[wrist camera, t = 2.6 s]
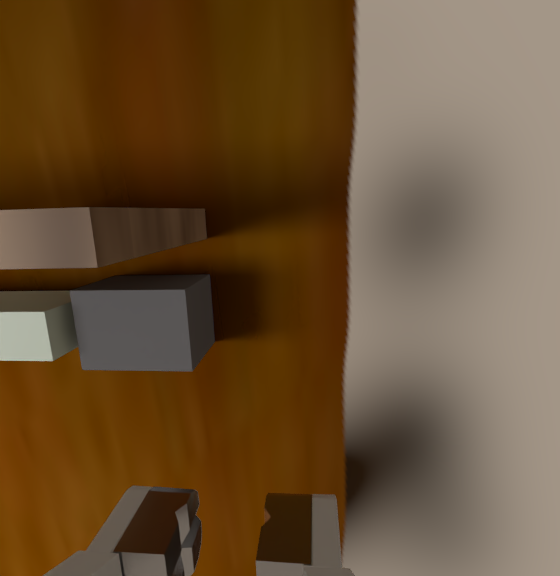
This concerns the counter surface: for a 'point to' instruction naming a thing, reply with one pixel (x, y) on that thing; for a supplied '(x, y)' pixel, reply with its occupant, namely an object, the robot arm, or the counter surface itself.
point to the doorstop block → (144, 322)
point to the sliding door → (36, 325)
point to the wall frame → (93, 235)
